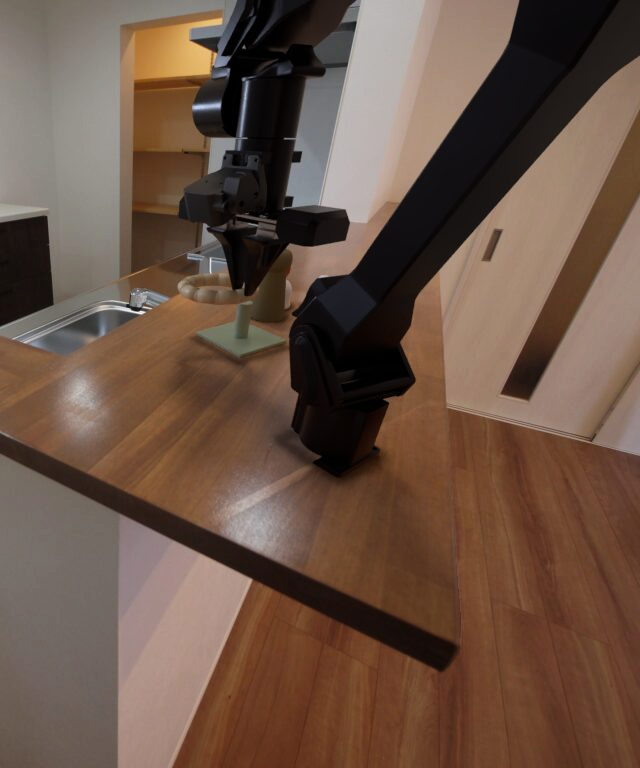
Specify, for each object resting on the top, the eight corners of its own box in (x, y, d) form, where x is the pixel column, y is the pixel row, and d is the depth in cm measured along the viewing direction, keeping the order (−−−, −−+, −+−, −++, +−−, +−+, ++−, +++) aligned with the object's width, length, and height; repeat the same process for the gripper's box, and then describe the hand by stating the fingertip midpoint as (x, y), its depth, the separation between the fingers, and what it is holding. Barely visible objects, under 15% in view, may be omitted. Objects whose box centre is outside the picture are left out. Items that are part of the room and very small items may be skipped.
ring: (274, 296, 52) (276, 283, 51) (216, 311, 47) (217, 297, 46) (218, 280, 59) (219, 268, 58) (162, 292, 54) (163, 279, 53)
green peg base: (285, 347, 60) (293, 306, 57) (239, 362, 56) (245, 318, 53) (239, 326, 67) (245, 288, 64) (195, 339, 63) (198, 298, 60)
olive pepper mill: (286, 323, 69) (300, 253, 63) (247, 320, 70) (258, 251, 64) (282, 310, 74) (295, 244, 68) (246, 307, 75) (256, 242, 69)
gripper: (143, 137, 45) (139, 284, 52) (290, 139, 31) (256, 336, 39) (220, 138, 50) (207, 271, 58) (375, 140, 36) (329, 313, 44)
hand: (242, 293), depth 50 cm, fingers closed on ring, 1 cm apart
